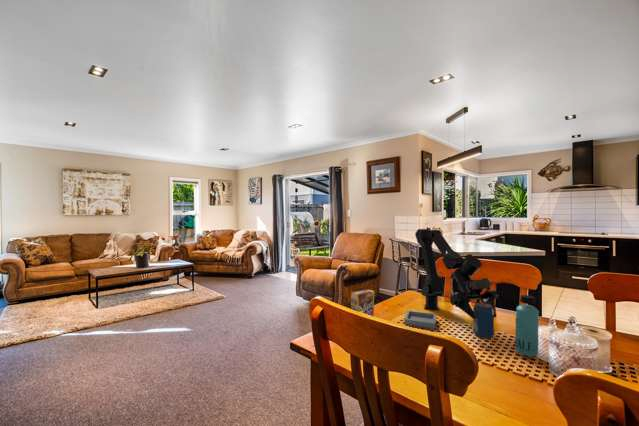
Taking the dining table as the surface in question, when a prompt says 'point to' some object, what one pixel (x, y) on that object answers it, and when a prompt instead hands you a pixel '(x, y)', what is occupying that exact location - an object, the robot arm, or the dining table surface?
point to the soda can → (483, 320)
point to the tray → (420, 319)
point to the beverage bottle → (527, 327)
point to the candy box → (363, 301)
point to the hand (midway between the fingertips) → (485, 317)
